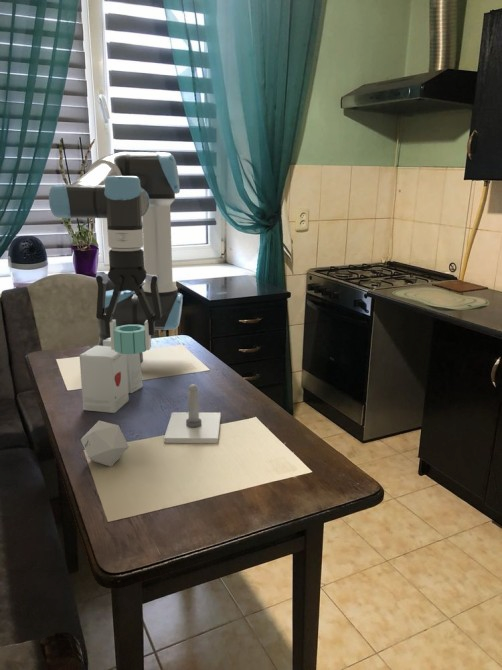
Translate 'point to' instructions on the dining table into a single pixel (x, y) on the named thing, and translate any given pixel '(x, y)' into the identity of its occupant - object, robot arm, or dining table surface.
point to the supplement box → (103, 379)
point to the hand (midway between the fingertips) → (131, 348)
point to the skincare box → (131, 369)
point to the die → (104, 443)
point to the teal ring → (129, 339)
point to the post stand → (193, 423)
